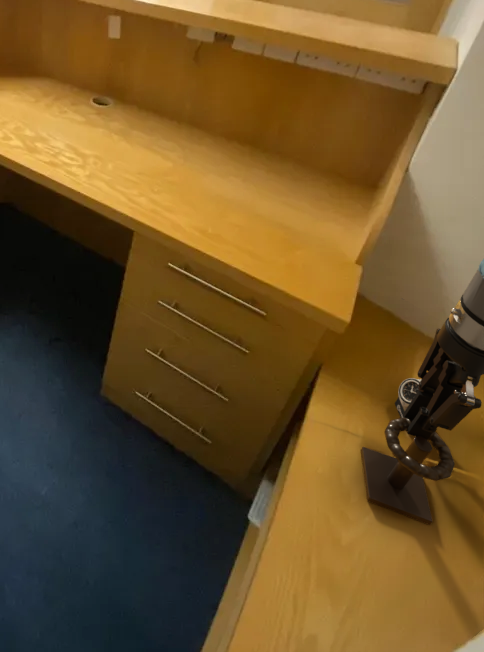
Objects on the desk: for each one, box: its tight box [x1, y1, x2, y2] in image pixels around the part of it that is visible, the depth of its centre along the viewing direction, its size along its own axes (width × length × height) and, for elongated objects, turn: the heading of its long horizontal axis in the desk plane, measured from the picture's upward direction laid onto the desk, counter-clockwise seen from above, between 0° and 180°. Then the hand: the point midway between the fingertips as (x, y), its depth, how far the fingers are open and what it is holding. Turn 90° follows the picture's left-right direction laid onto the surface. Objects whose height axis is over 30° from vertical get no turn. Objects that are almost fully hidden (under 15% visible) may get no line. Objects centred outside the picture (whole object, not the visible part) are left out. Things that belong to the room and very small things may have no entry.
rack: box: [360, 436, 433, 526], centre depth 84 cm, size 9×9×13 cm
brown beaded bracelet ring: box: [383, 417, 456, 482], centre depth 81 cm, size 9×9×2 cm
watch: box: [394, 377, 438, 432], centre depth 94 cm, size 6×8×11 cm
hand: (415, 426), depth 84 cm, fingers closed on brown beaded bracelet ring, 2 cm apart
